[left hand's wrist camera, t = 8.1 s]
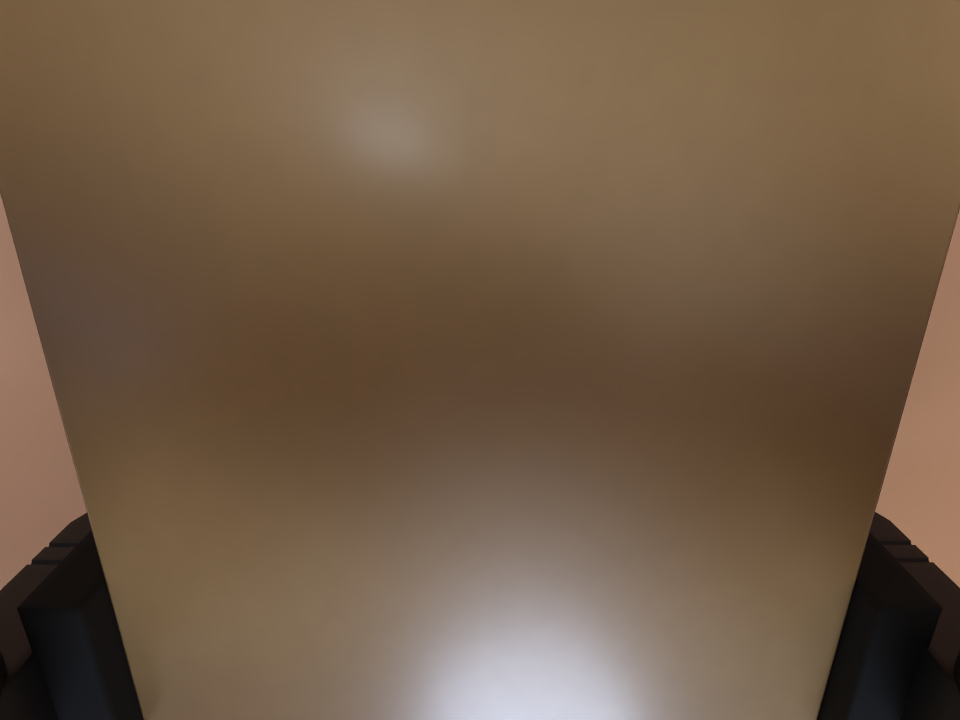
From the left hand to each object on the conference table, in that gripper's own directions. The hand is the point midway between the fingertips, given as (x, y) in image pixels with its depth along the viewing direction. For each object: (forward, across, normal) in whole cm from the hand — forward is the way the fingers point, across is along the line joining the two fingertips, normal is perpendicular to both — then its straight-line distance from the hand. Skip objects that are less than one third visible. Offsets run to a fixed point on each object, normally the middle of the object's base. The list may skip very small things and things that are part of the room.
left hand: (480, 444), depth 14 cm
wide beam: (+1, 0, -19) cm, 19 cm away
